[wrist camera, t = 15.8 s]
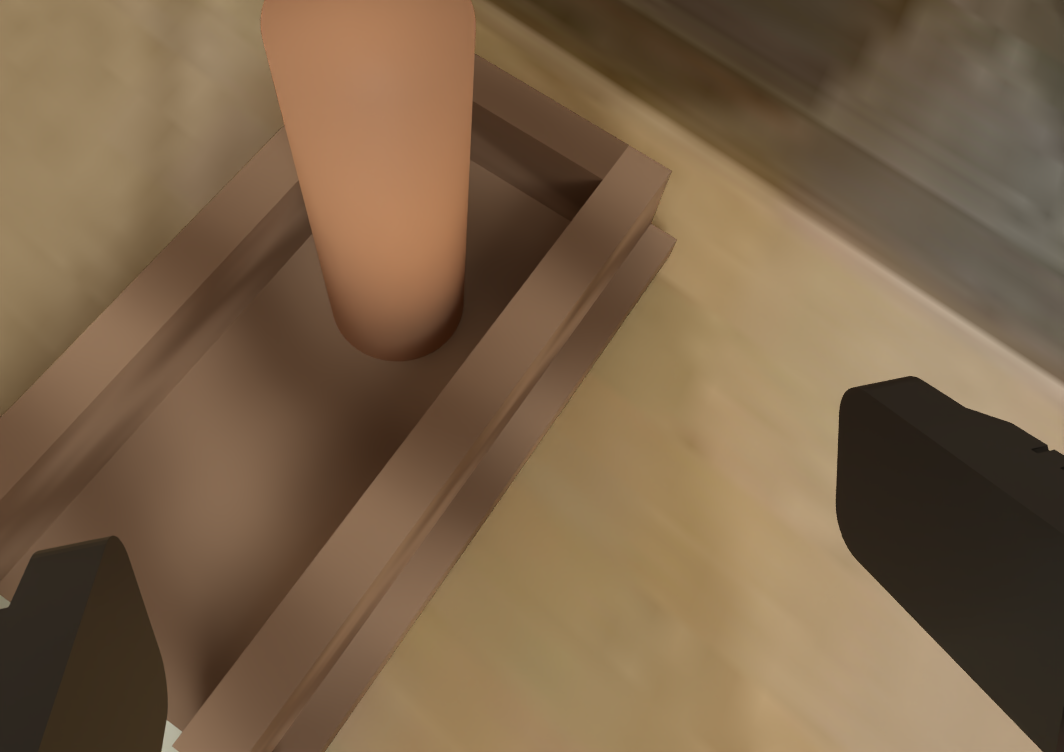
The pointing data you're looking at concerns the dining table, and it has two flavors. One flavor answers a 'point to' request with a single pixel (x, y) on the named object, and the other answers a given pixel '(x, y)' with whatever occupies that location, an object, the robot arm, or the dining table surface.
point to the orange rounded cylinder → (381, 158)
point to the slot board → (322, 420)
